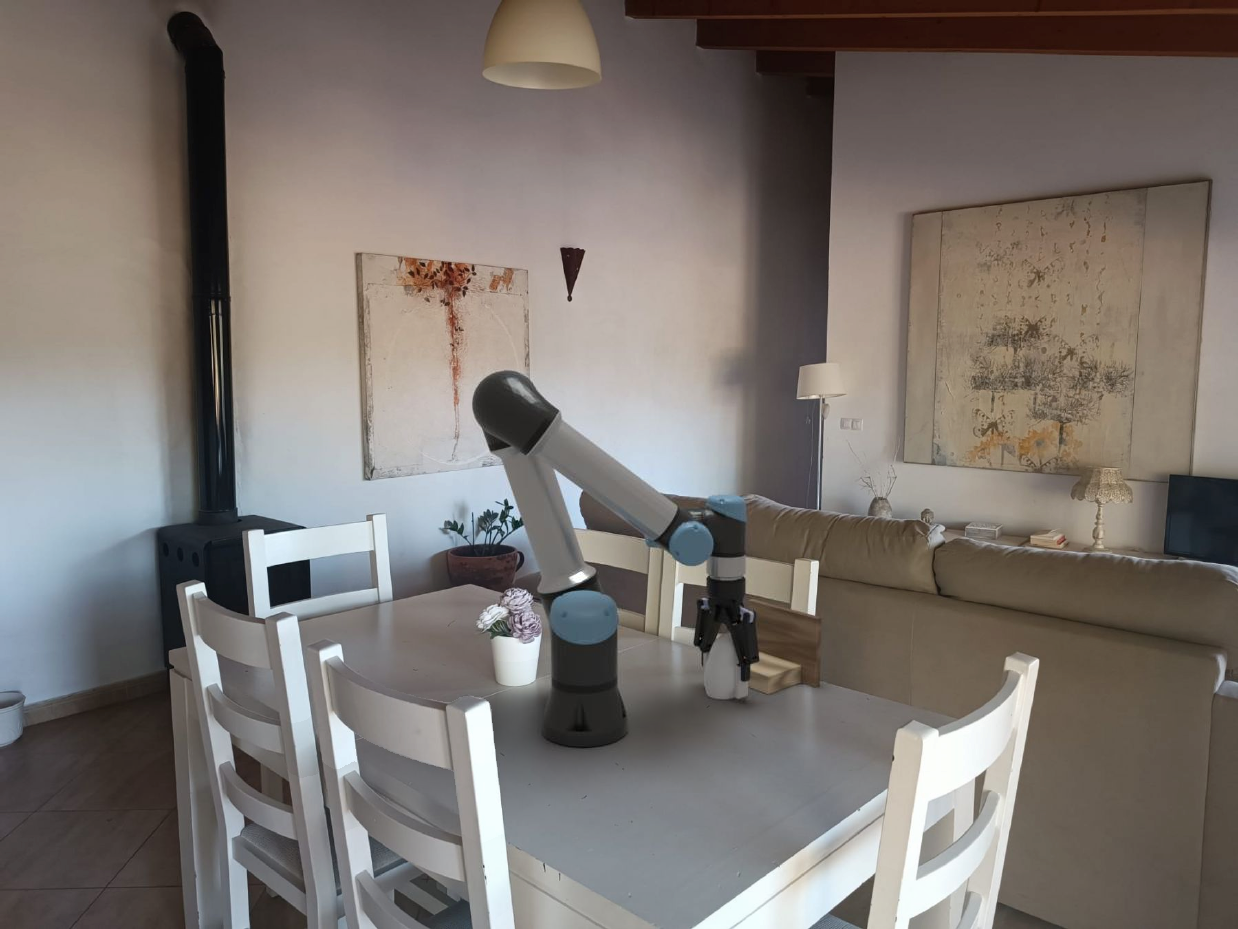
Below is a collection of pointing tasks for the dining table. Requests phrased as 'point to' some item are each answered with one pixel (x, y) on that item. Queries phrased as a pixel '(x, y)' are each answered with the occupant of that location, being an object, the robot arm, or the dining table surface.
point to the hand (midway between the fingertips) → (725, 690)
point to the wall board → (785, 648)
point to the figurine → (721, 668)
